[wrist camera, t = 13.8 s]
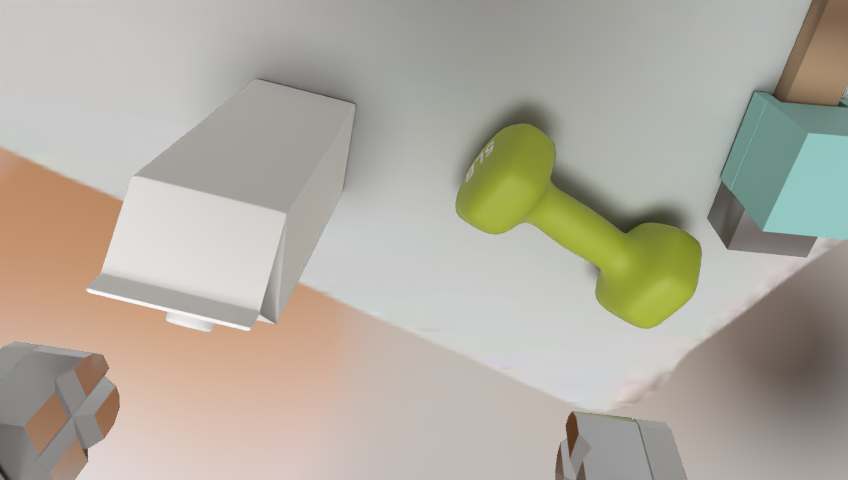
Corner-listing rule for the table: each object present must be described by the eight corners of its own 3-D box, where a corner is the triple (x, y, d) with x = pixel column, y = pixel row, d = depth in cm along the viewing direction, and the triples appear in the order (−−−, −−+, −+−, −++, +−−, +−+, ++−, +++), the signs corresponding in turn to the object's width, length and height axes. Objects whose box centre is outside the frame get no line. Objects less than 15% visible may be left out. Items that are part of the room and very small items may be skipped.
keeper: (754, 91, 33) (807, 132, 28) (848, 99, 33) (922, 142, 27) (720, 178, 37) (761, 231, 31) (805, 186, 36) (862, 241, 31)
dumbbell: (447, 181, 39) (439, 233, 33) (517, 93, 35) (521, 135, 29) (615, 291, 43) (635, 356, 37) (695, 223, 39) (731, 284, 33)
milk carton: (255, 77, 37) (73, 220, 21) (357, 103, 37) (253, 264, 21) (251, 168, 41) (95, 348, 25) (343, 191, 41) (247, 384, 25)
